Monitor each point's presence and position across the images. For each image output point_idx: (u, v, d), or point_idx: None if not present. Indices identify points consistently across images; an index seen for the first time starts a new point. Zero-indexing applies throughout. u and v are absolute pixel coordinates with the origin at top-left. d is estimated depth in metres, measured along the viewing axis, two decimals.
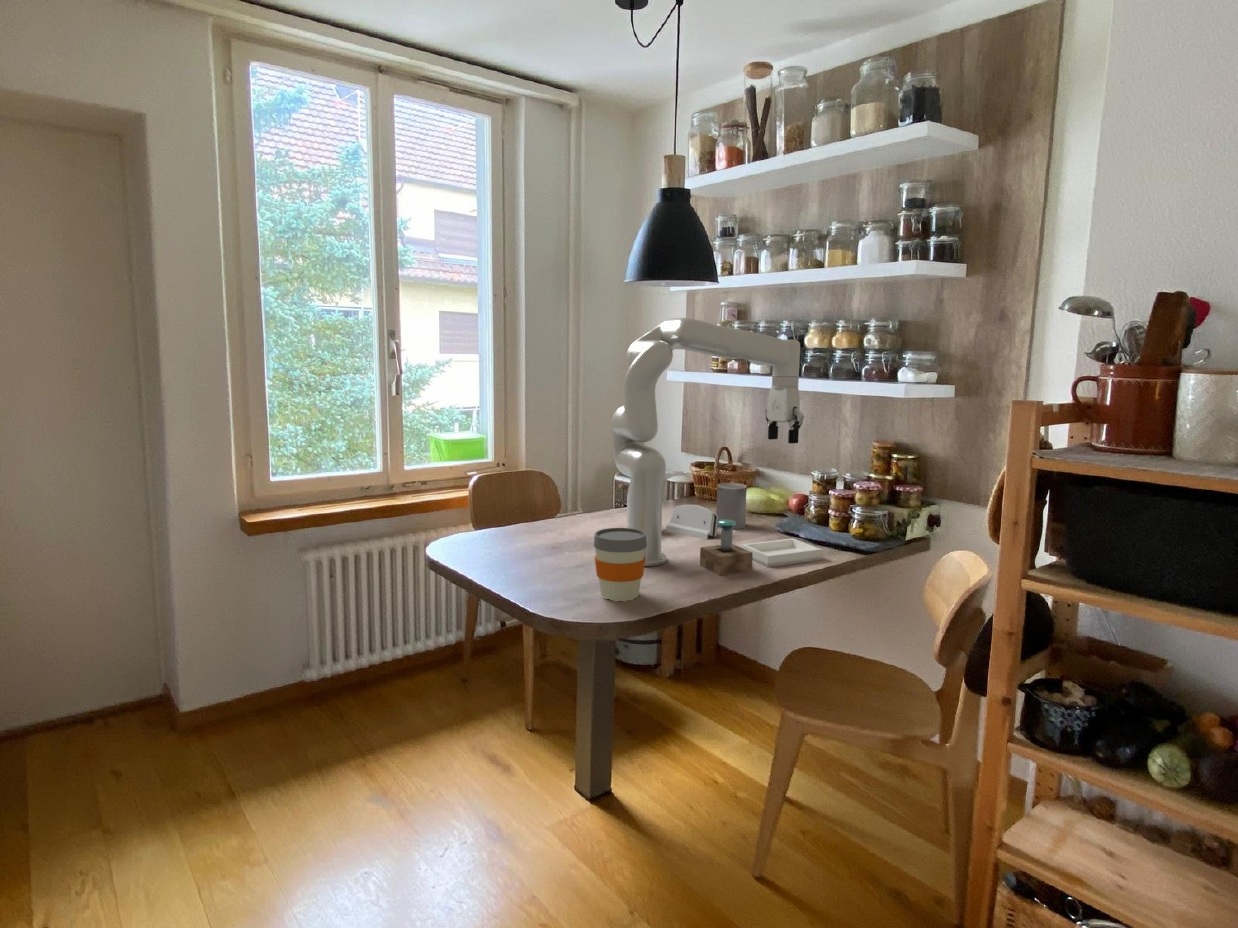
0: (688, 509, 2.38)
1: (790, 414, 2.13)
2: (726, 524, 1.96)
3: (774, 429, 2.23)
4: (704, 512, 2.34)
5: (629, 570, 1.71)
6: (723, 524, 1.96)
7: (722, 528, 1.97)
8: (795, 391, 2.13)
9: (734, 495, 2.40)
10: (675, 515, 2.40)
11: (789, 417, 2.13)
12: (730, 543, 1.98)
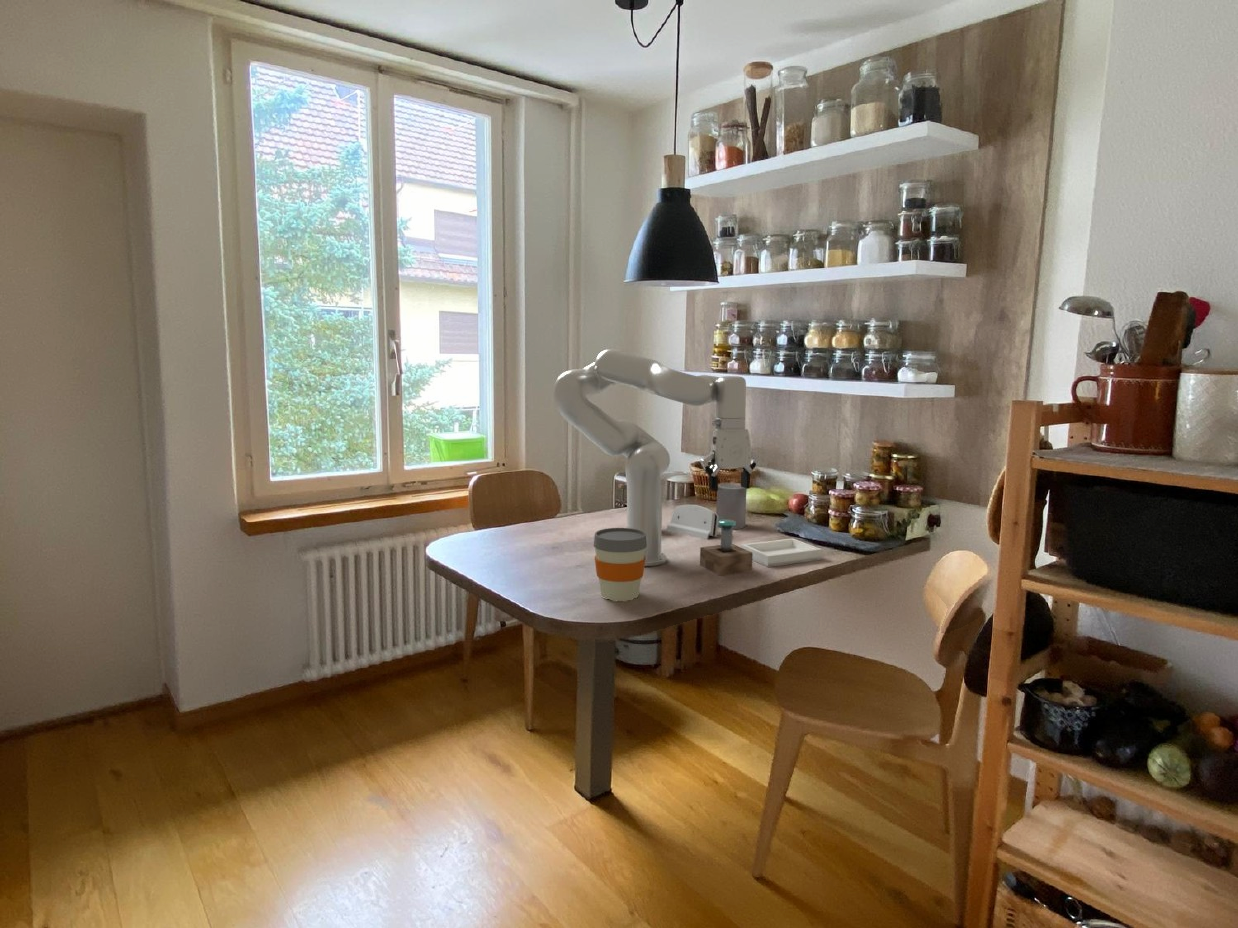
0: (688, 509, 2.38)
1: None
2: (726, 524, 1.96)
3: None
4: (704, 512, 2.34)
5: (629, 570, 1.71)
6: (723, 524, 1.96)
7: (722, 528, 1.97)
8: None
9: (734, 495, 2.40)
10: (676, 515, 2.40)
11: None
12: (730, 543, 1.98)
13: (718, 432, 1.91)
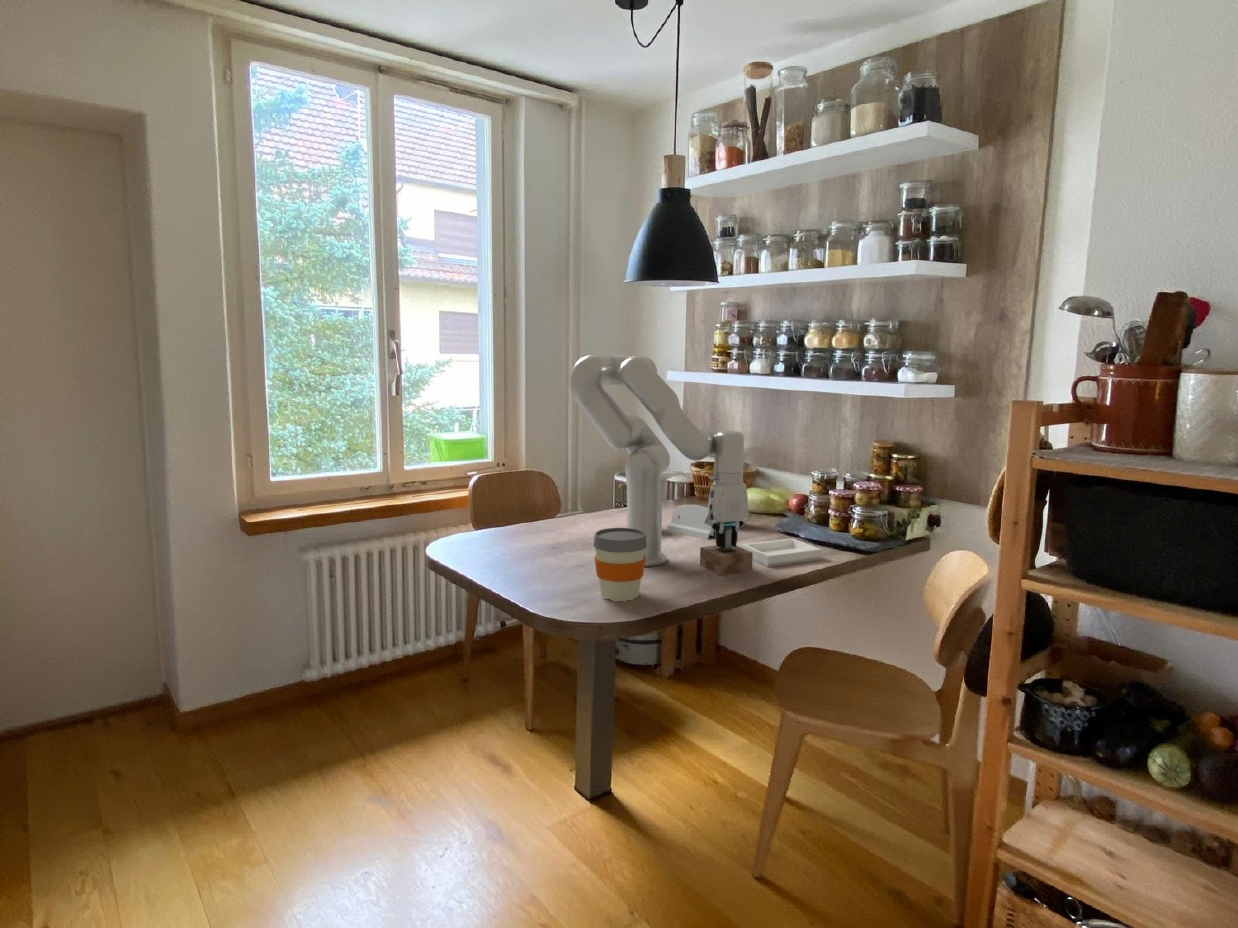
0: (689, 509, 2.38)
1: None
2: (726, 524, 1.96)
3: None
4: (705, 512, 2.34)
5: (629, 570, 1.71)
6: None
7: None
8: None
9: None
10: (676, 515, 2.40)
11: None
12: (730, 543, 1.98)
13: (716, 486, 1.93)
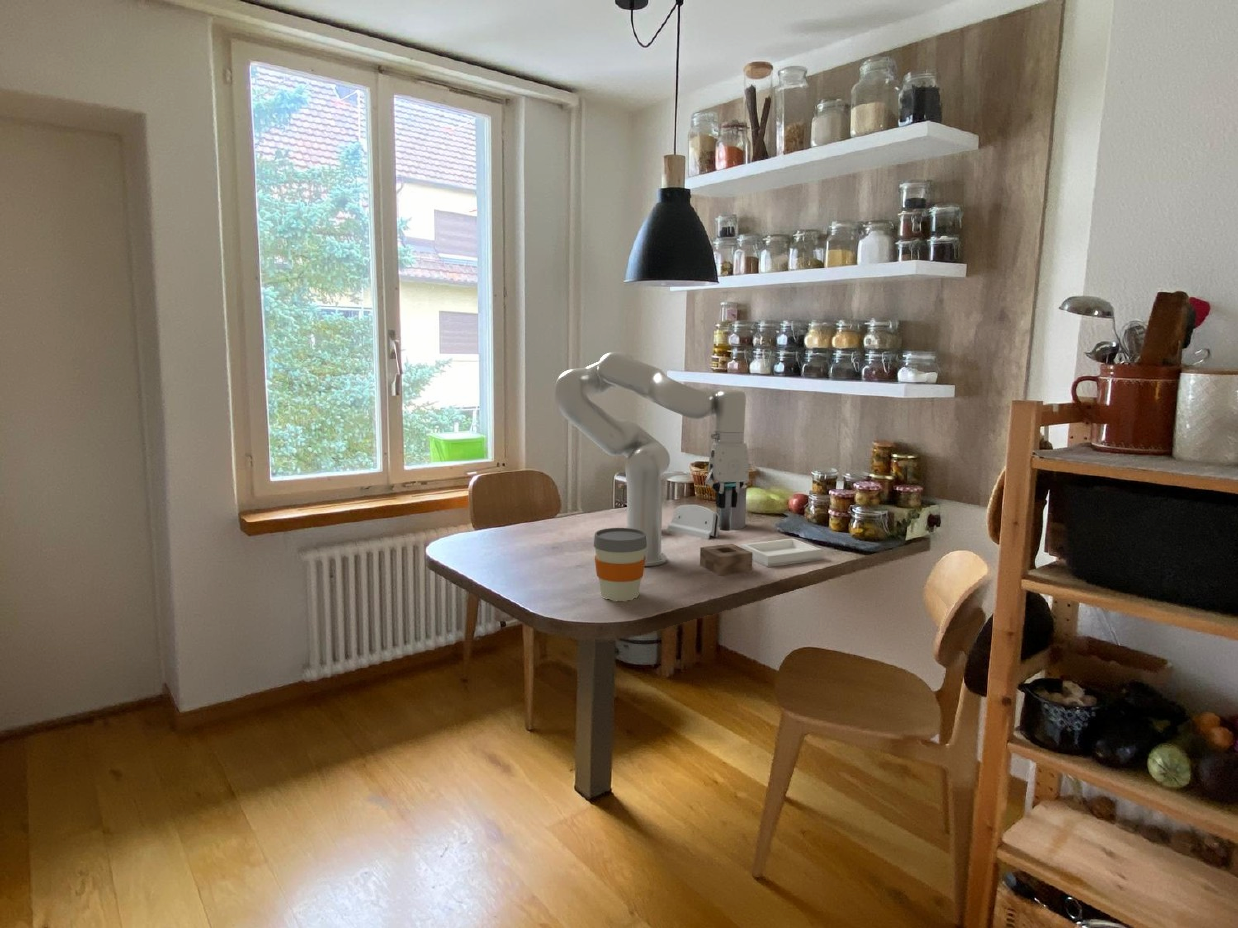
0: (689, 509, 2.38)
1: None
2: (726, 484, 1.94)
3: None
4: (705, 512, 2.34)
5: (629, 570, 1.71)
6: None
7: None
8: None
9: None
10: (676, 515, 2.40)
11: None
12: (730, 504, 1.96)
13: (717, 446, 1.92)
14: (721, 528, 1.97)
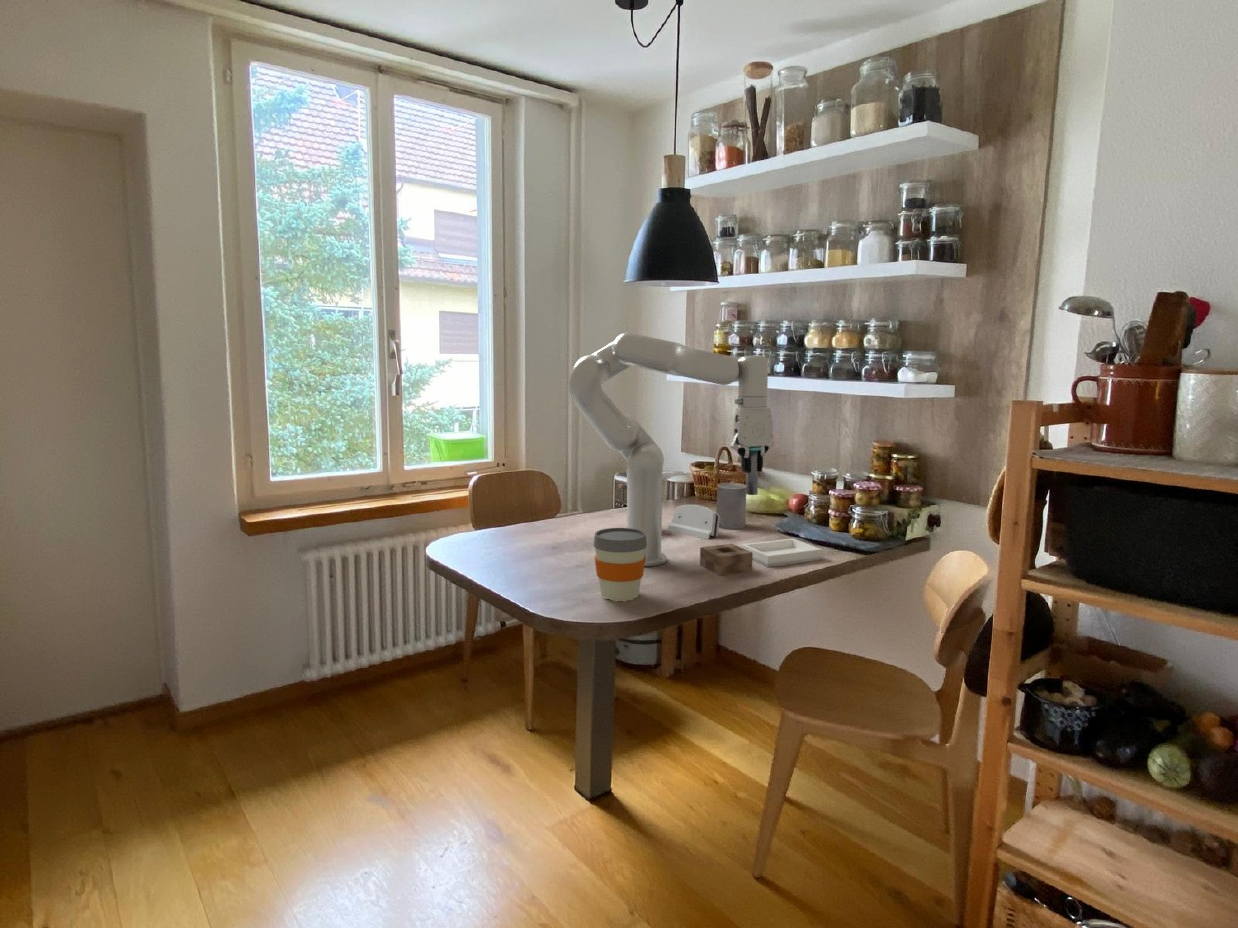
0: (690, 509, 2.38)
1: None
2: (751, 448, 1.97)
3: None
4: (706, 512, 2.34)
5: (629, 570, 1.71)
6: None
7: None
8: None
9: (734, 495, 2.40)
10: (677, 515, 2.40)
11: None
12: (756, 468, 1.98)
13: (740, 410, 1.94)
14: (748, 492, 2.00)
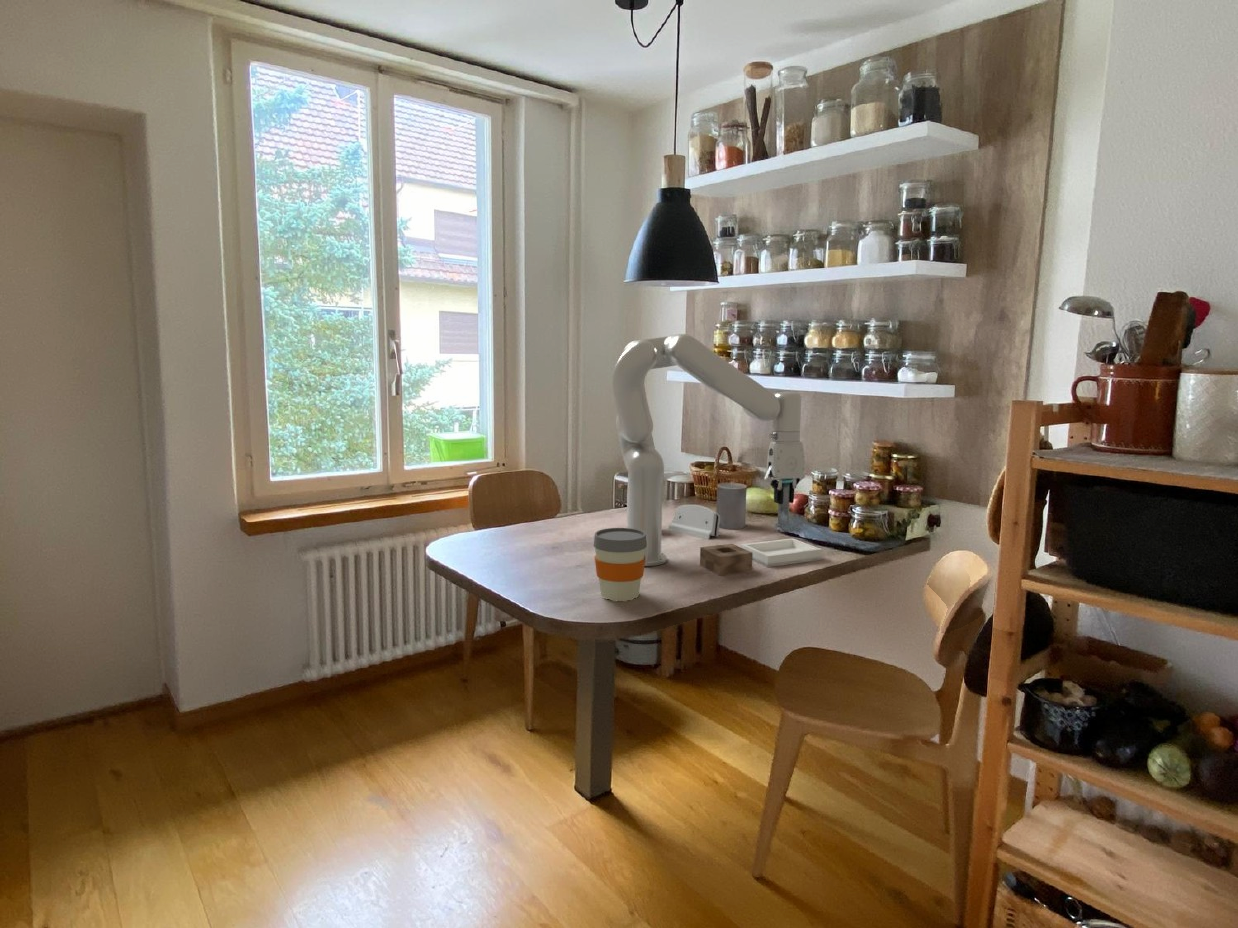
0: (690, 509, 2.38)
1: None
2: (784, 481, 2.05)
3: None
4: (706, 512, 2.34)
5: (629, 570, 1.71)
6: None
7: None
8: None
9: (734, 495, 2.40)
10: (677, 515, 2.40)
11: None
12: (788, 499, 2.07)
13: (775, 445, 2.03)
14: (780, 522, 2.08)
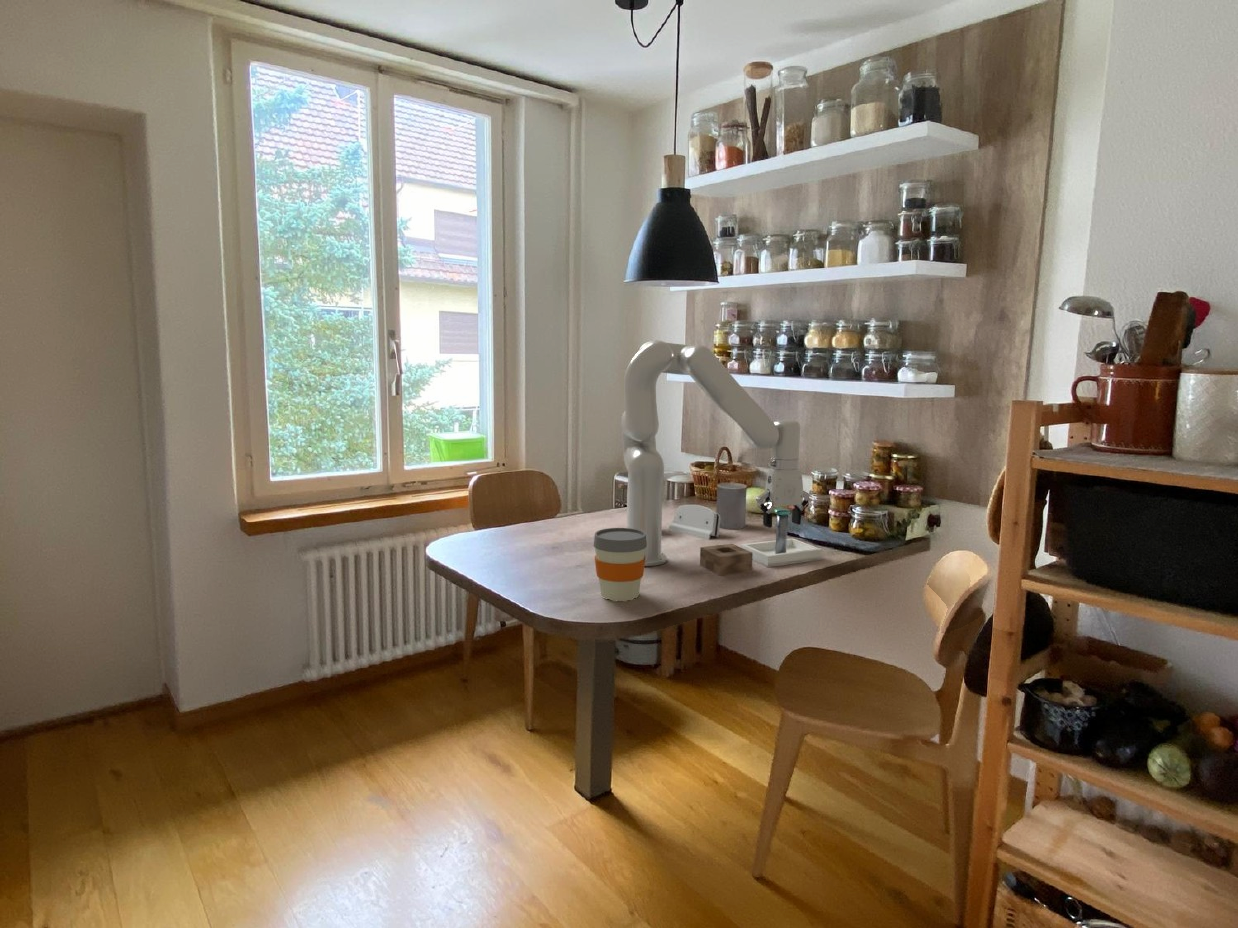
0: (690, 509, 2.38)
1: None
2: (782, 512, 2.06)
3: None
4: (706, 512, 2.33)
5: (629, 570, 1.71)
6: (779, 512, 2.07)
7: (778, 516, 2.08)
8: None
9: (734, 495, 2.40)
10: (678, 515, 2.40)
11: None
12: (785, 530, 2.08)
13: (773, 472, 2.04)
14: (777, 553, 2.09)
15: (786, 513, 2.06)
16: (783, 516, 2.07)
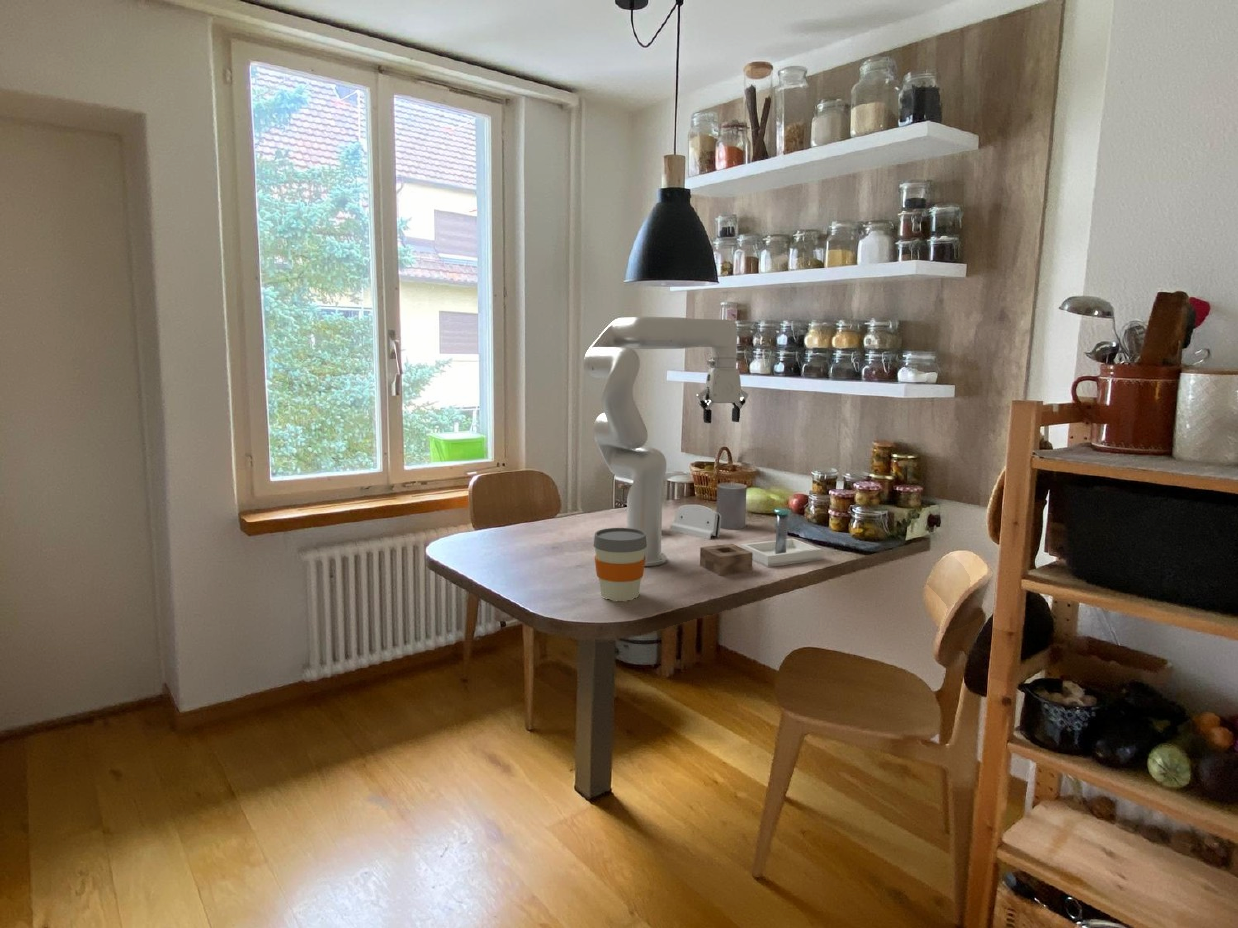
0: (692, 509, 2.38)
1: None
2: (782, 512, 2.06)
3: None
4: (707, 512, 2.34)
5: (629, 570, 1.71)
6: (779, 512, 2.07)
7: (778, 516, 2.08)
8: None
9: (734, 495, 2.40)
10: (679, 515, 2.41)
11: None
12: (786, 530, 2.08)
13: (712, 370, 2.17)
14: (777, 553, 2.09)
15: (786, 513, 2.06)
16: (783, 516, 2.07)
